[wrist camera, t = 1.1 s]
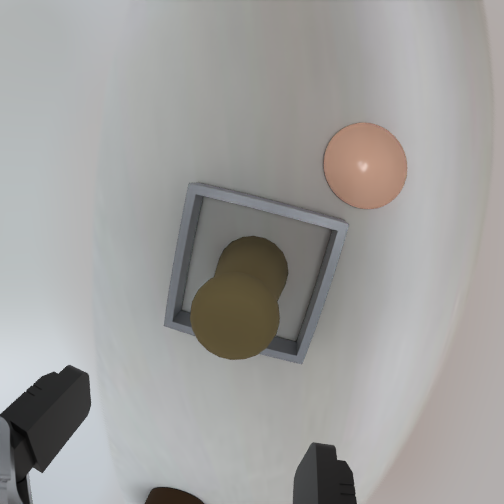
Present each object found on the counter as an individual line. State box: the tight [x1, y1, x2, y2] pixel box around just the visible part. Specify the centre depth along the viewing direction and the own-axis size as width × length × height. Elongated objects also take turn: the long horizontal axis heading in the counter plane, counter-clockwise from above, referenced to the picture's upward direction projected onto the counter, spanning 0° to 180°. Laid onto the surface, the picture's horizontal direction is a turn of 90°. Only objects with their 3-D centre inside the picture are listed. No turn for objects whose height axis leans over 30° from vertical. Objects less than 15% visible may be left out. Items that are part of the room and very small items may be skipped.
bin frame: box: [164, 182, 349, 364], centre depth 26 cm, size 12×12×2 cm
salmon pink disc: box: [324, 123, 407, 209], centre depth 24 cm, size 7×7×1 cm
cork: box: [190, 236, 288, 360], centre depth 22 cm, size 6×6×11 cm
